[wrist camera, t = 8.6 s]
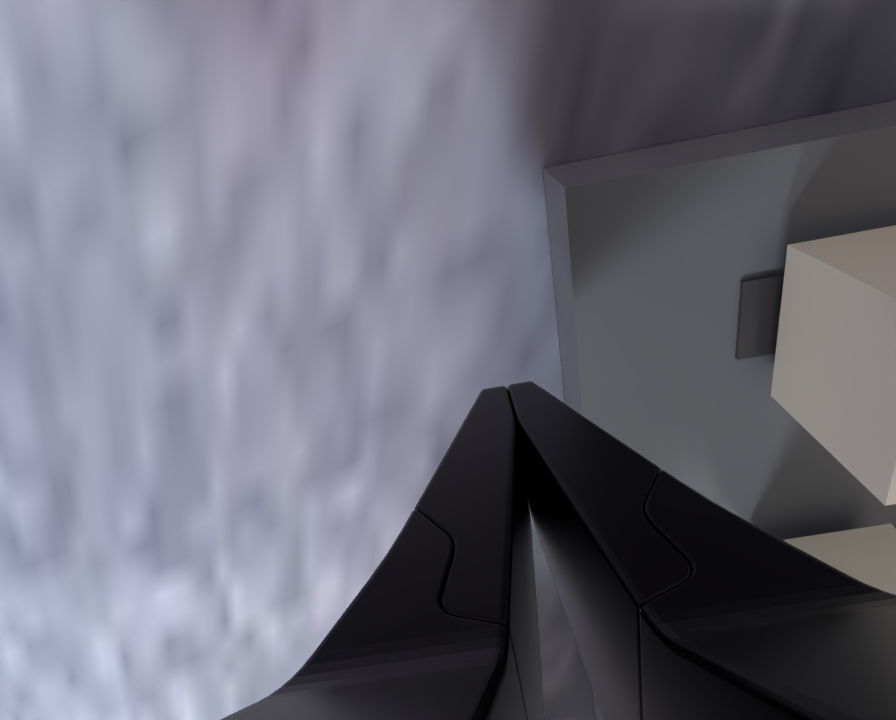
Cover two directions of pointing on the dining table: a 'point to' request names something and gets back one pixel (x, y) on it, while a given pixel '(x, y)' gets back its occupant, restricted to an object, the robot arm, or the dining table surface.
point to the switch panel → (713, 303)
